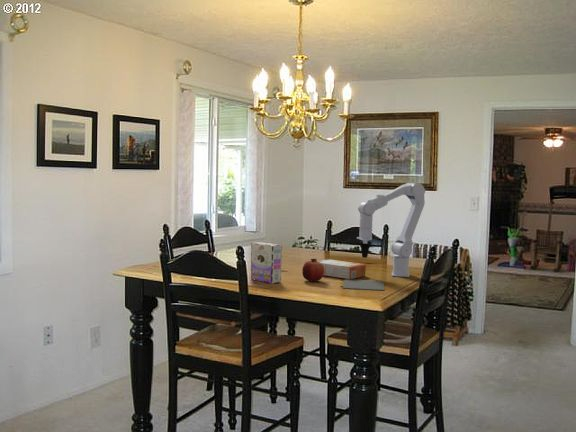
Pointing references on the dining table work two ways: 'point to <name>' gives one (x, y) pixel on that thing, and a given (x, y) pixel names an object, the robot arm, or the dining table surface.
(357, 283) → the mat
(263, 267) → the candy box
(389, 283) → the dining table surface
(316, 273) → the fruit
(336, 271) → the cracker box
